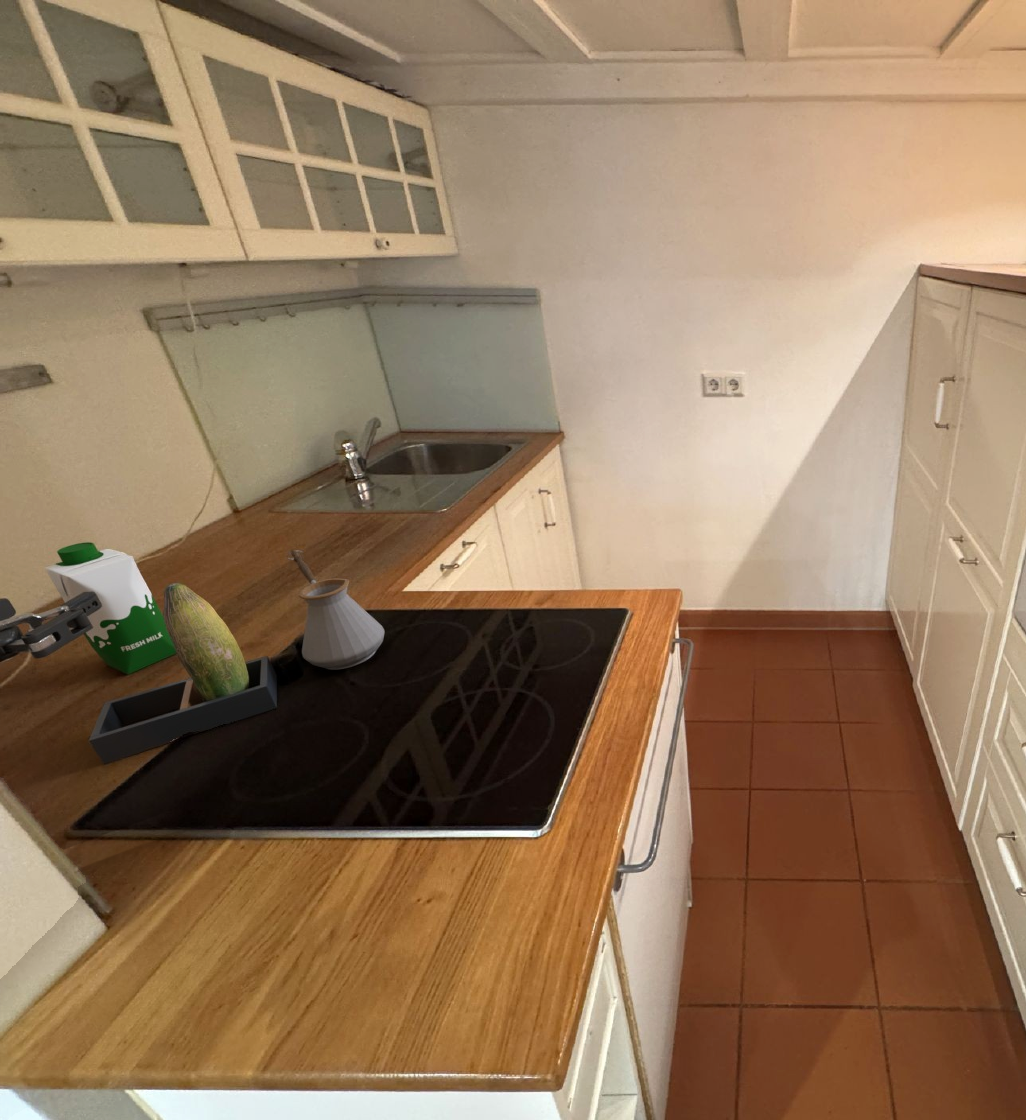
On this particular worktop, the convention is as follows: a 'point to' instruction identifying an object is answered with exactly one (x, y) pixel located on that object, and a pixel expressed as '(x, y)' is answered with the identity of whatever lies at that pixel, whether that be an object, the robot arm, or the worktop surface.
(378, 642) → the coffee pot
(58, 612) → the robot arm
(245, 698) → the divided tray
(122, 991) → the worktop surface
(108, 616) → the milk carton
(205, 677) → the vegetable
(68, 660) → the worktop surface
